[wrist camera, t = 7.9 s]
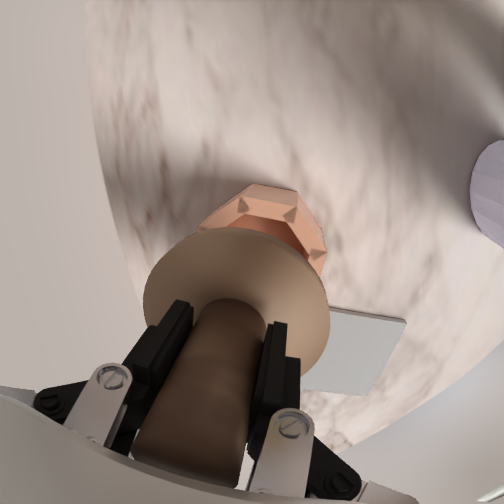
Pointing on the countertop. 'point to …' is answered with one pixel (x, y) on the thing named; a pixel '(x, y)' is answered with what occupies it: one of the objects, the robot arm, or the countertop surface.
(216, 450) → the lid
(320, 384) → the mat
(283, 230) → the octagonal peach pot
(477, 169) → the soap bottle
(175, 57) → the countertop surface
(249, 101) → the countertop surface
